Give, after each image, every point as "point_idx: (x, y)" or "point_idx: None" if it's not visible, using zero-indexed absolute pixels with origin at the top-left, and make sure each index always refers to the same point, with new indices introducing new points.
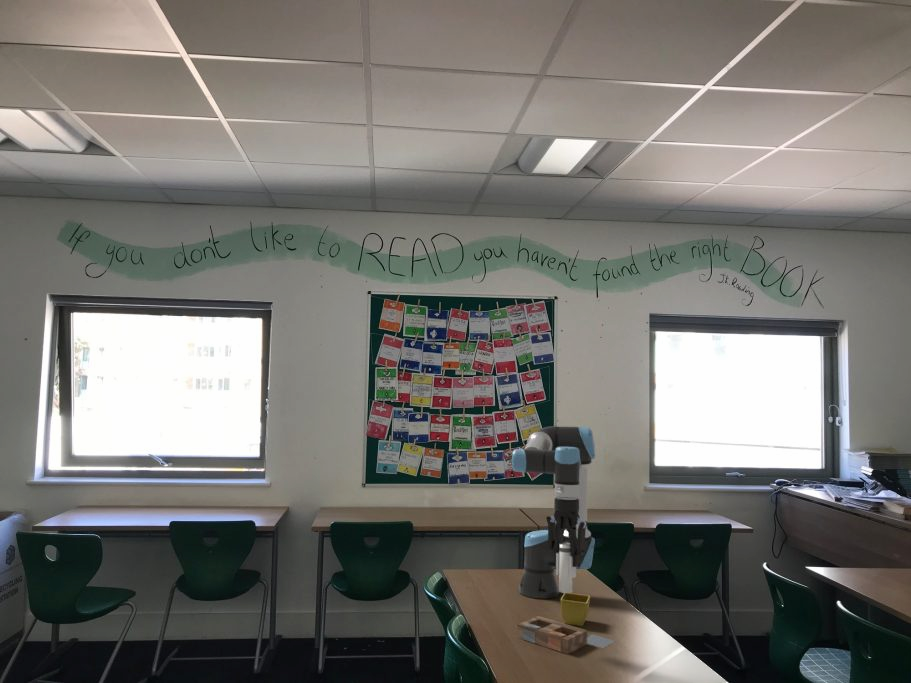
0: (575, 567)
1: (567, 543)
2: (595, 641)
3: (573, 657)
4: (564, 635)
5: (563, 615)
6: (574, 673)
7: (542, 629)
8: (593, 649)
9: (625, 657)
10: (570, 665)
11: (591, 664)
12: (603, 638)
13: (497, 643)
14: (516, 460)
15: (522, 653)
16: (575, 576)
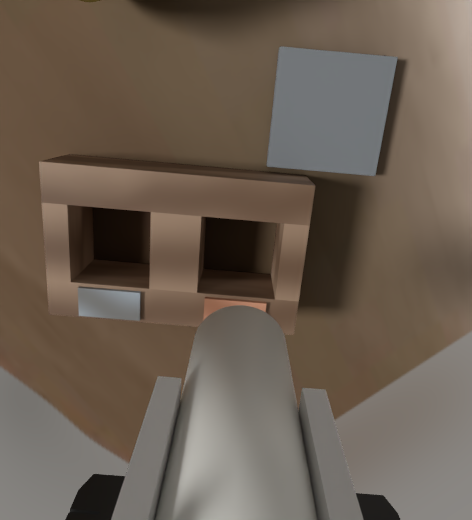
0: (341, 463)
1: None
2: (324, 125)
3: (302, 291)
4: (265, 311)
5: (95, 1)
6: (355, 392)
7: (158, 301)
8: (332, 176)
9: (464, 168)
10: (321, 351)
11: (375, 304)
12: (340, 63)
13: (41, 347)
14: None
15: (154, 364)
16: (324, 398)
